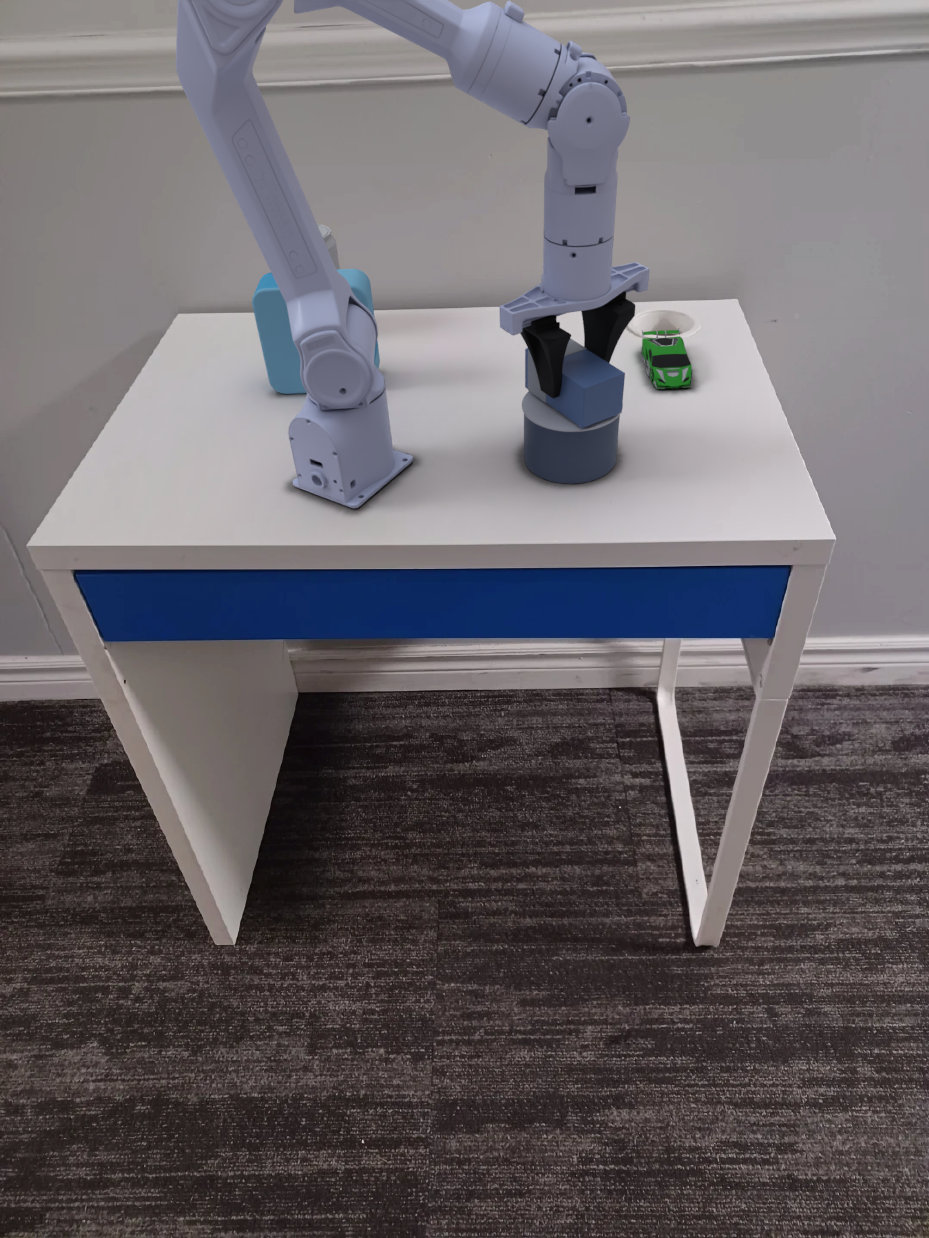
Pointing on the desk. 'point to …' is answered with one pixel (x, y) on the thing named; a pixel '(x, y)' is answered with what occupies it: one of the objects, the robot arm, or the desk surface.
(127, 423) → the desk surface
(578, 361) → the block
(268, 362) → the data package
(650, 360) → the toy car
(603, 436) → the yogurt tub
